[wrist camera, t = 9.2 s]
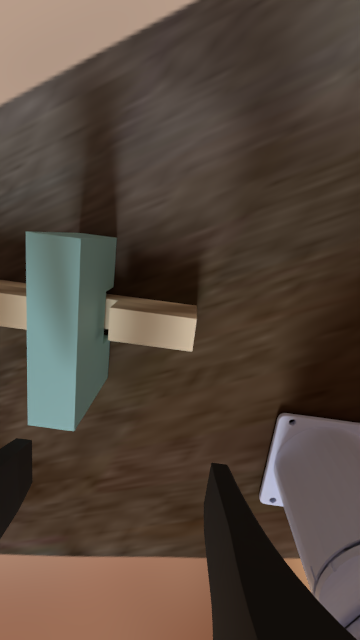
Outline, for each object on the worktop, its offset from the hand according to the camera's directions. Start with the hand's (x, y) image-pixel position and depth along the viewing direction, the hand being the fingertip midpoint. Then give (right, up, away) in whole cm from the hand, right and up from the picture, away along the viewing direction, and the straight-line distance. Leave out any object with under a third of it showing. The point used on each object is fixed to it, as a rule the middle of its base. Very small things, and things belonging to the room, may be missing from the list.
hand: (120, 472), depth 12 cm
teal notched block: (-4, +7, +9) cm, 12 cm away
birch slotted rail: (-4, +7, +9) cm, 12 cm away
